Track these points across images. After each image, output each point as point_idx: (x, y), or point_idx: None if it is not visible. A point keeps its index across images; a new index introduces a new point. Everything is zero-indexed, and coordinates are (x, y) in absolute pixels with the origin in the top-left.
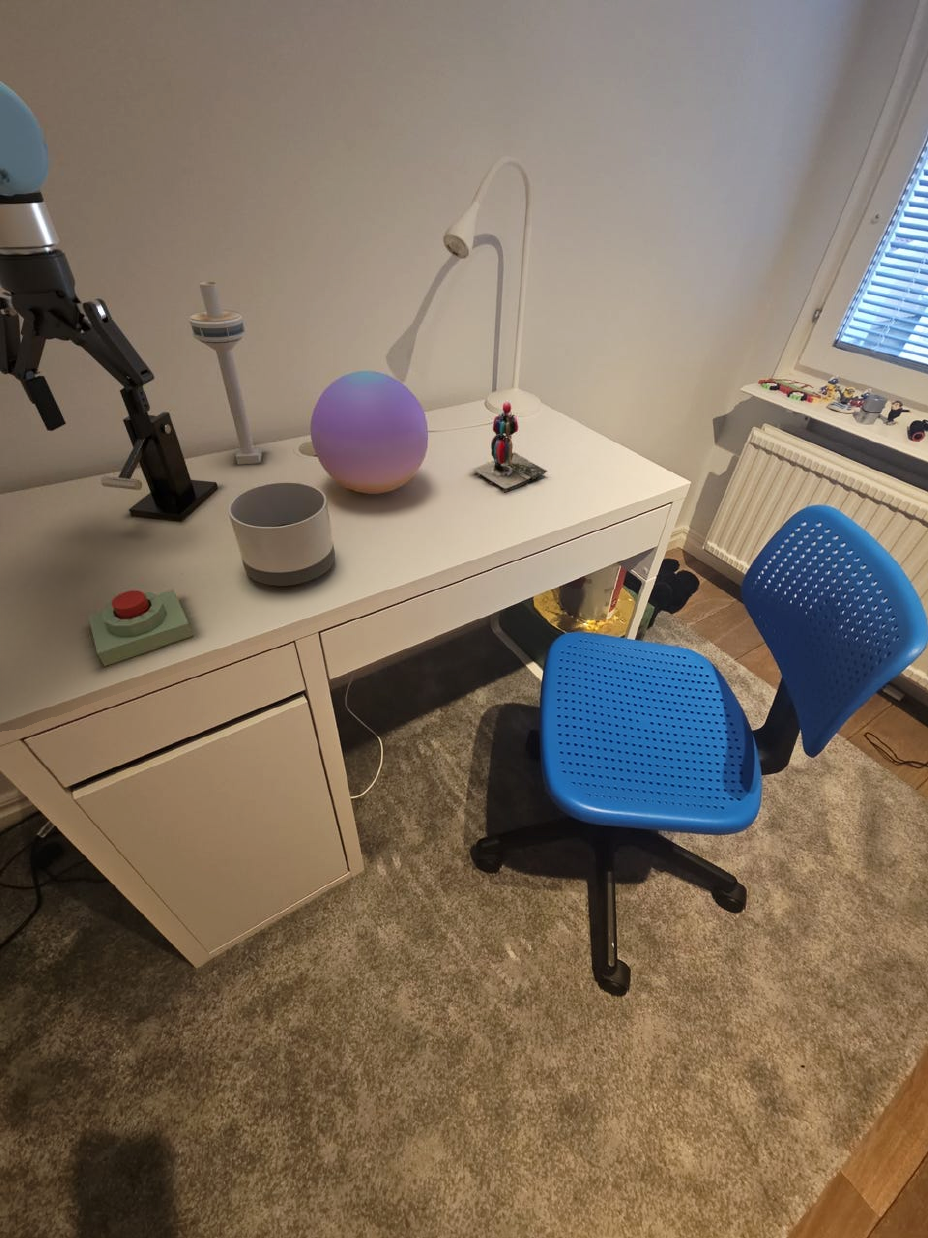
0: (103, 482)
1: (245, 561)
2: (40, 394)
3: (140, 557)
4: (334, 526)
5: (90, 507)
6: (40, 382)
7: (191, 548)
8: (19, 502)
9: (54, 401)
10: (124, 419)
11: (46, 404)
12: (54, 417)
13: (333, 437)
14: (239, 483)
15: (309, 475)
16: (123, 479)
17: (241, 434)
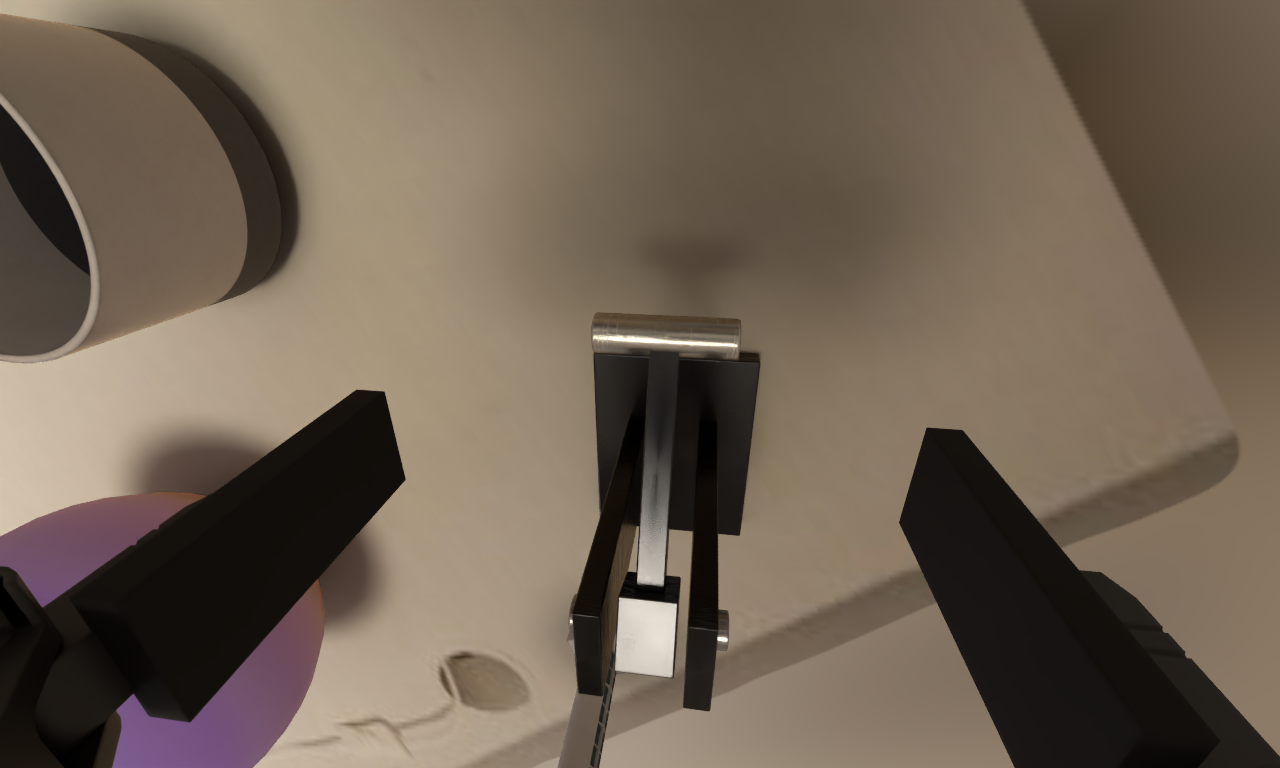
0: (728, 321)
1: (133, 54)
2: (1026, 635)
3: (599, 138)
4: (229, 377)
5: (911, 381)
6: (1058, 764)
7: (488, 216)
8: (1174, 380)
9: (954, 626)
10: (709, 631)
11: (980, 574)
12: (936, 516)
13: (52, 595)
14: (565, 535)
15: (429, 579)
16: (644, 337)
17: (587, 695)
